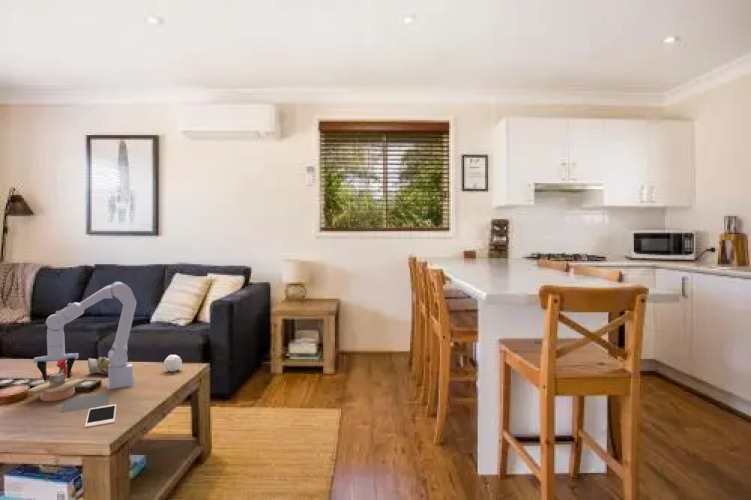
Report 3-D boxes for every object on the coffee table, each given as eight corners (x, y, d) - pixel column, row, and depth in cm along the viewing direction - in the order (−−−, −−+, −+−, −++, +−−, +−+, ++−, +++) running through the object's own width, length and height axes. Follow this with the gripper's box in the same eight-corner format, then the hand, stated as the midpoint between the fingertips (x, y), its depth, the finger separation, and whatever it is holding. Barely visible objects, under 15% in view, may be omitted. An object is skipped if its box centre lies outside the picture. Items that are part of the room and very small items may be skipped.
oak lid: (86, 380, 192) (85, 369, 192) (61, 392, 178) (61, 380, 178) (53, 379, 193) (53, 369, 192) (26, 391, 179) (26, 380, 178)
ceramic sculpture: (94, 351, 220) (127, 353, 220) (94, 369, 220) (126, 371, 221) (81, 358, 209) (115, 360, 210) (80, 377, 210) (114, 378, 210)
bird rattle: (55, 387, 203) (47, 385, 194) (58, 361, 206) (51, 358, 198) (71, 386, 204) (65, 384, 196) (74, 360, 208) (68, 357, 200)
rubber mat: (110, 393, 189) (110, 392, 189) (107, 406, 175) (107, 405, 175) (66, 400, 182) (66, 398, 182) (60, 413, 169) (60, 412, 169)
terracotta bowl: (75, 390, 193) (75, 379, 193) (72, 399, 183) (72, 388, 183) (43, 394, 188) (43, 383, 188) (38, 403, 178) (37, 392, 178)
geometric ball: (169, 377, 217) (157, 366, 214) (175, 367, 225) (164, 355, 222) (181, 370, 216) (170, 358, 213) (187, 360, 223) (176, 348, 220)
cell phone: (84, 429, 157) (84, 426, 157) (89, 410, 173) (89, 407, 173) (114, 424, 161) (114, 421, 161) (116, 406, 177) (116, 403, 177)
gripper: (78, 340, 191) (79, 373, 192) (35, 344, 185) (37, 378, 185) (76, 344, 185) (77, 378, 186) (32, 348, 178) (33, 383, 179)
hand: (57, 378), depth 185 cm, fingers open, 7 cm apart
